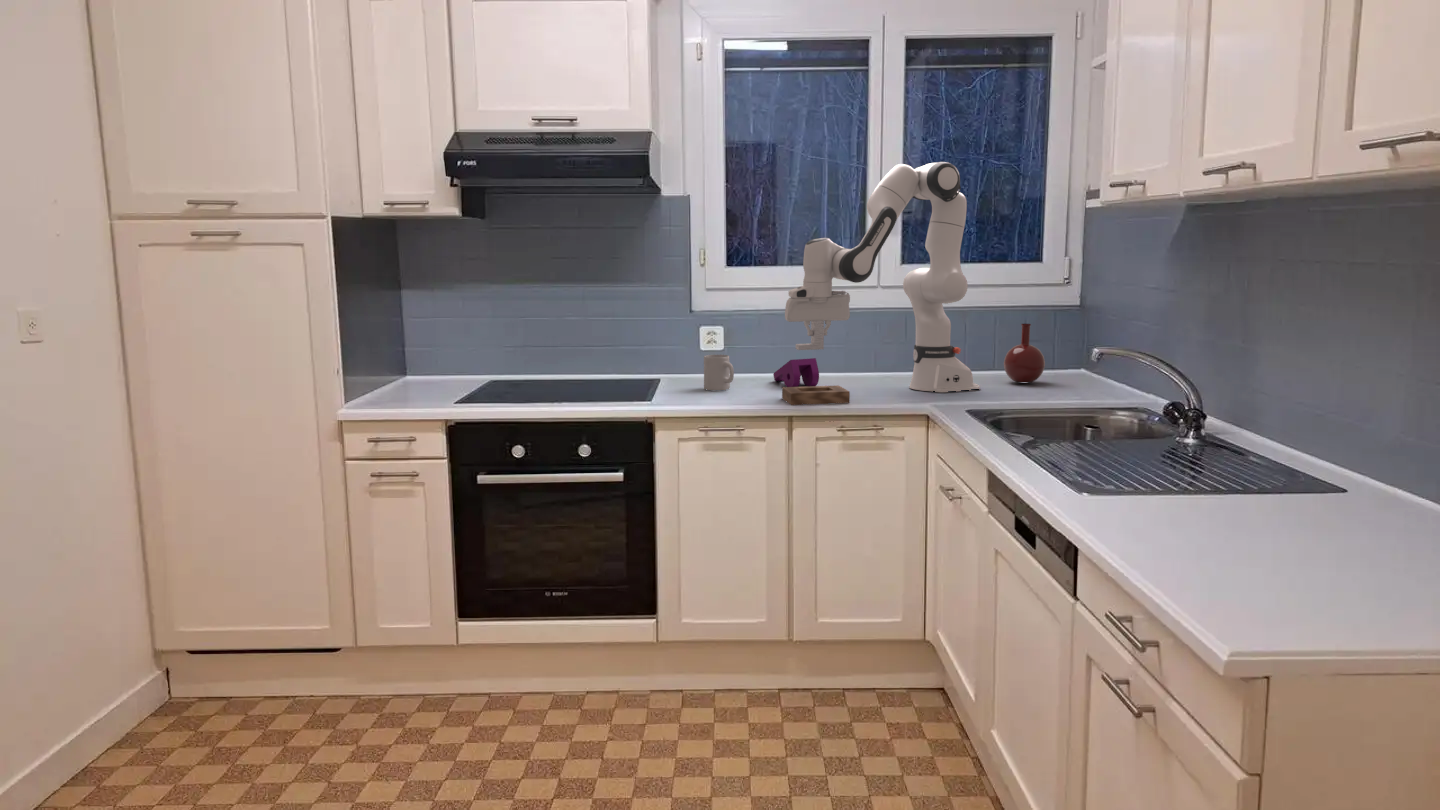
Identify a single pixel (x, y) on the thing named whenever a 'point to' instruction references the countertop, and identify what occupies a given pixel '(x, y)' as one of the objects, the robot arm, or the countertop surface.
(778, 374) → the mounting bracket
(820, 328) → the angle bracket
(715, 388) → the mug
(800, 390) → the well block
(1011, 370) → the round-bottom flask
